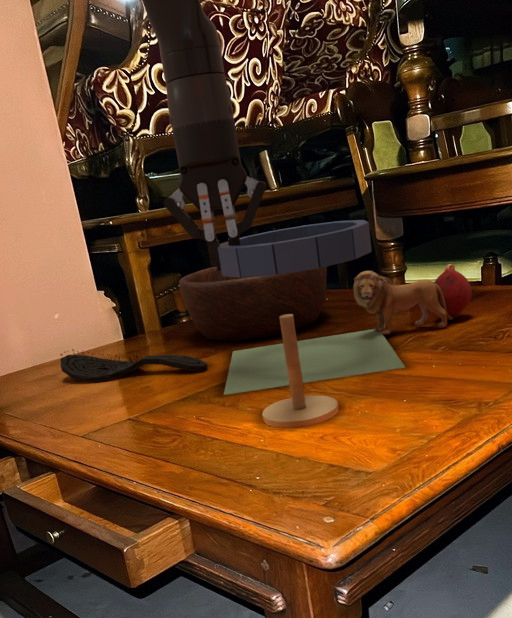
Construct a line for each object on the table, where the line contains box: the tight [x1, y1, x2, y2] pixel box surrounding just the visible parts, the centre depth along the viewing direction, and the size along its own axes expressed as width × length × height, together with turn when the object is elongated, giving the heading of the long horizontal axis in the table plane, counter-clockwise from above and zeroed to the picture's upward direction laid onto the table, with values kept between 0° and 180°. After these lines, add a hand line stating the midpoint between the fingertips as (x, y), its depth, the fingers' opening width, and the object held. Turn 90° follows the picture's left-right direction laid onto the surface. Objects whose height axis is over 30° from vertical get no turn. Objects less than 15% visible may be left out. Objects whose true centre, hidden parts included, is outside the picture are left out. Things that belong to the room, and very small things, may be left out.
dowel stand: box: [261, 314, 339, 429], centre depth 71 cm, size 8×8×11 cm
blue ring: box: [218, 219, 373, 278], centre depth 88 cm, size 19×19×4 cm
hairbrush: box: [60, 348, 209, 383], centre depth 103 cm, size 8×4×25 cm
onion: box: [433, 263, 473, 320], centre depth 101 cm, size 6×6×8 cm
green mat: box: [223, 328, 406, 396], centre depth 93 cm, size 22×22×1 cm
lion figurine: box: [352, 270, 454, 335], centre depth 98 cm, size 15×5×9 cm, turn 101°
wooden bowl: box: [178, 266, 328, 342], centre depth 118 cm, size 25×25×10 cm
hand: (227, 268), depth 89 cm, fingers closed on blue ring, 1 cm apart
